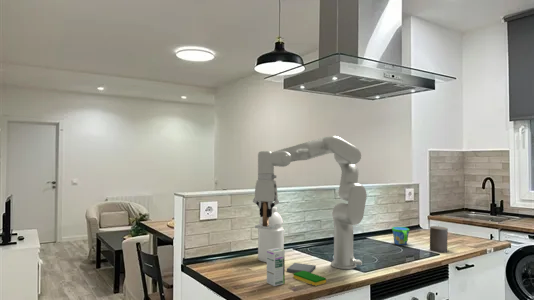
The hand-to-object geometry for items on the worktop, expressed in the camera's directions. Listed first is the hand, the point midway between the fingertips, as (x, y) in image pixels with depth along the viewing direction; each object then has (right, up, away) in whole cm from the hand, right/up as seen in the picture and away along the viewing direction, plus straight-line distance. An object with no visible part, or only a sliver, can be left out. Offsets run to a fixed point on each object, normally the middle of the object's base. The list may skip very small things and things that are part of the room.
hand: (265, 216), depth 169 cm
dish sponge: (+20, -28, -8) cm, 35 cm away
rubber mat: (+17, -27, +6) cm, 33 cm away
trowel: (0, -5, 0) cm, 5 cm away
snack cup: (+87, -30, +63) cm, 111 cm away
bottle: (+3, -28, +25) cm, 38 cm away
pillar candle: (+104, -29, +48) cm, 118 cm away
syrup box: (+4, -27, -13) cm, 30 cm away
